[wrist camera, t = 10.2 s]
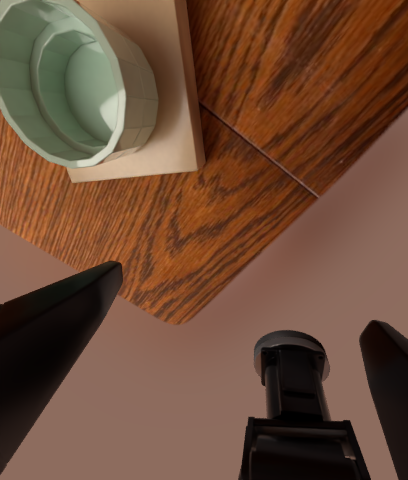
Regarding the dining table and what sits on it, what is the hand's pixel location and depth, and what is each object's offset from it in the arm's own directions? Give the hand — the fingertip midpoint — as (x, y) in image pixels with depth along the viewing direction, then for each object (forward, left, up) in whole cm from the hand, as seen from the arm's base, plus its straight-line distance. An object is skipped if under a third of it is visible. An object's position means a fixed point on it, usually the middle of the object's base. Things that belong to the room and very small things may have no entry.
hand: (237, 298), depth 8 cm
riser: (+8, +8, -12) cm, 16 cm away
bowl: (+8, +8, -9) cm, 14 cm away
